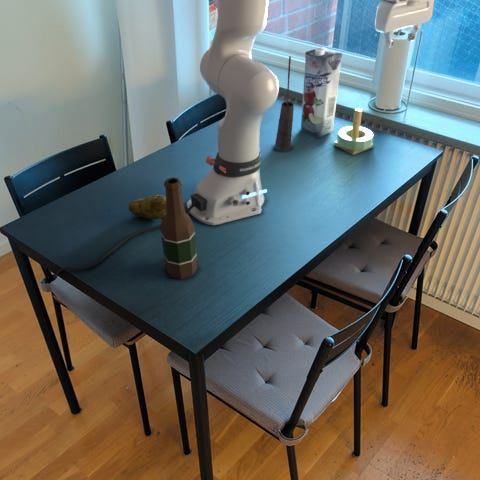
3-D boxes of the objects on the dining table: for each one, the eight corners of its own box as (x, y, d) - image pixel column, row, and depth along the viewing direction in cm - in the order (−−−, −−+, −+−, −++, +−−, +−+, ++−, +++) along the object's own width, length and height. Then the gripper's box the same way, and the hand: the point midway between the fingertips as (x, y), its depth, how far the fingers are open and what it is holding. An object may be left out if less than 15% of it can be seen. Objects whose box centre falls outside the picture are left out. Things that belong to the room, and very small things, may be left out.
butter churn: (294, 157, 169) (300, 66, 150) (265, 153, 171) (268, 62, 152) (300, 145, 176) (307, 55, 156) (273, 141, 178) (276, 52, 158)
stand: (353, 155, 170) (358, 117, 162) (333, 144, 176) (338, 108, 167) (372, 147, 174) (379, 110, 165) (353, 137, 179) (358, 101, 171)
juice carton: (314, 122, 188) (322, 40, 170) (336, 132, 182) (346, 48, 164) (296, 129, 184) (302, 46, 166) (318, 139, 178) (326, 54, 160)
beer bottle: (198, 259, 131) (191, 171, 114) (197, 279, 125) (190, 189, 109) (167, 260, 131) (155, 172, 114) (164, 280, 125) (152, 190, 109)
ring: (354, 153, 168) (355, 144, 166) (330, 140, 175) (331, 132, 173) (378, 144, 173) (380, 135, 171) (354, 132, 180) (356, 123, 178)
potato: (151, 204, 150) (147, 179, 144) (179, 222, 143) (176, 196, 137) (126, 215, 146) (121, 189, 140) (154, 235, 139) (150, 208, 133)
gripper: (426, -19, 150) (415, 34, 160) (375, -8, 142) (367, 47, 151) (444, -15, 146) (432, 39, 156) (393, -4, 138) (383, 53, 148)
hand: (399, 43), depth 154 cm, fingers open, 8 cm apart
